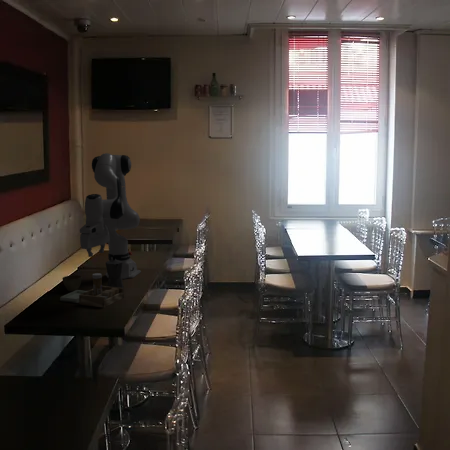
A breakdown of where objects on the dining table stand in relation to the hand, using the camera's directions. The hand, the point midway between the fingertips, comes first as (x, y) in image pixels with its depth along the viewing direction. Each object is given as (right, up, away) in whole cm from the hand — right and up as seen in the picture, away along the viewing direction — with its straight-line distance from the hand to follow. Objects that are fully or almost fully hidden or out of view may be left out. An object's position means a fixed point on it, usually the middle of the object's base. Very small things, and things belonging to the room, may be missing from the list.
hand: (96, 254), depth 277 cm
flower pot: (-18, -21, +22) cm, 35 cm away
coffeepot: (+4, -20, +24) cm, 32 cm away
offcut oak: (+8, -23, +5) cm, 25 cm away
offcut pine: (+6, -24, 0) cm, 24 cm away
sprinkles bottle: (0, -23, +4) cm, 24 cm away
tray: (-11, -23, +7) cm, 26 cm away
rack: (+2, -23, +2) cm, 23 cm away
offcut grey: (+4, -24, -4) cm, 25 cm away
